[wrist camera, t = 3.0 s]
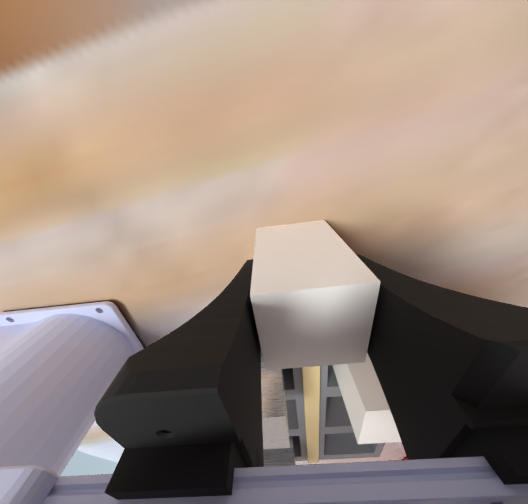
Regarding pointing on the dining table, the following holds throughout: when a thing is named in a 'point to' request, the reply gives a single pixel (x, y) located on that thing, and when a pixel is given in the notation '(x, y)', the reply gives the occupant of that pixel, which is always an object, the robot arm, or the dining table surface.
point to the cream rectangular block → (310, 297)
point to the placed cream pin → (366, 403)
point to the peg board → (321, 417)
